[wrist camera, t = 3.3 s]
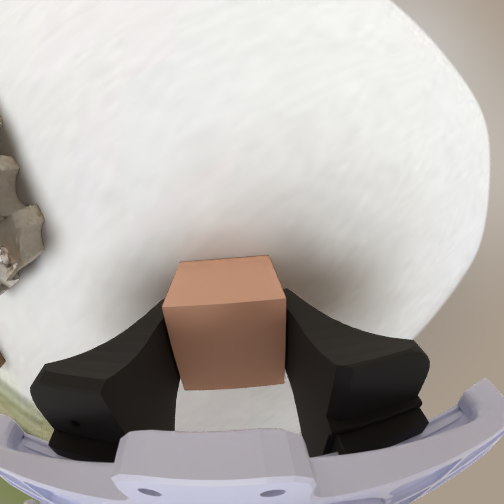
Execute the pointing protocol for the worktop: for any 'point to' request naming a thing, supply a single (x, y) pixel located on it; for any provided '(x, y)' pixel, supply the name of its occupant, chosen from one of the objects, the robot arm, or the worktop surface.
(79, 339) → the worktop surface
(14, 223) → the egg carton
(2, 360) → the tower base
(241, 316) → the terracotta cube
